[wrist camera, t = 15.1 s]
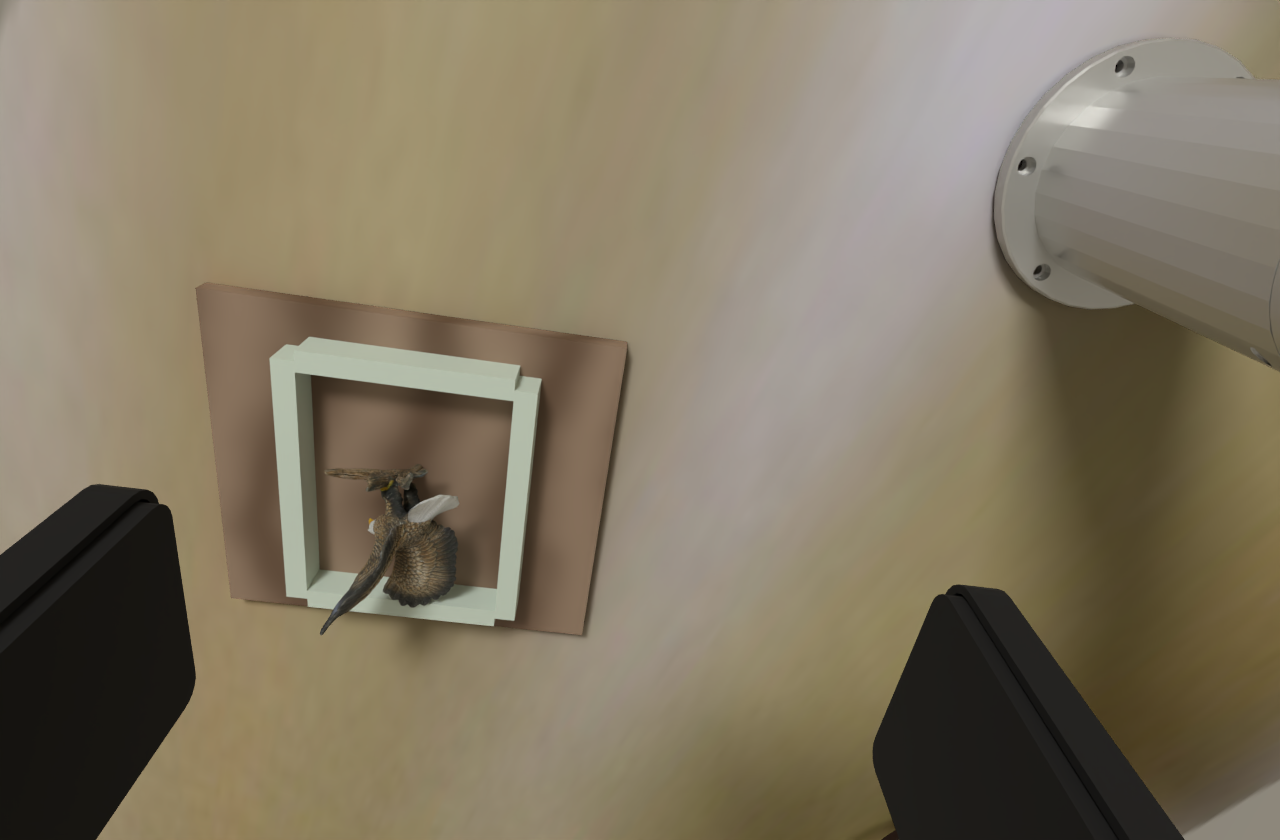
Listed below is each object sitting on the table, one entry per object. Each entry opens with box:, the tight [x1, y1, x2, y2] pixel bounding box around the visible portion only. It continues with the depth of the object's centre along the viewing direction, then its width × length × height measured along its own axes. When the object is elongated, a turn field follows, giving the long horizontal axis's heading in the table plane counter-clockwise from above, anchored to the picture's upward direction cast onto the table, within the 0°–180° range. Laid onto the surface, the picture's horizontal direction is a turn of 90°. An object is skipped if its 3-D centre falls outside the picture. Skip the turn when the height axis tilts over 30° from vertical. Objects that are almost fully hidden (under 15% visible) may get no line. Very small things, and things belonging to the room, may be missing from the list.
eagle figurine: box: [320, 464, 459, 635], centre depth 39 cm, size 8×7×9 cm
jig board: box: [196, 283, 627, 635], centre depth 42 cm, size 22×20×3 cm
